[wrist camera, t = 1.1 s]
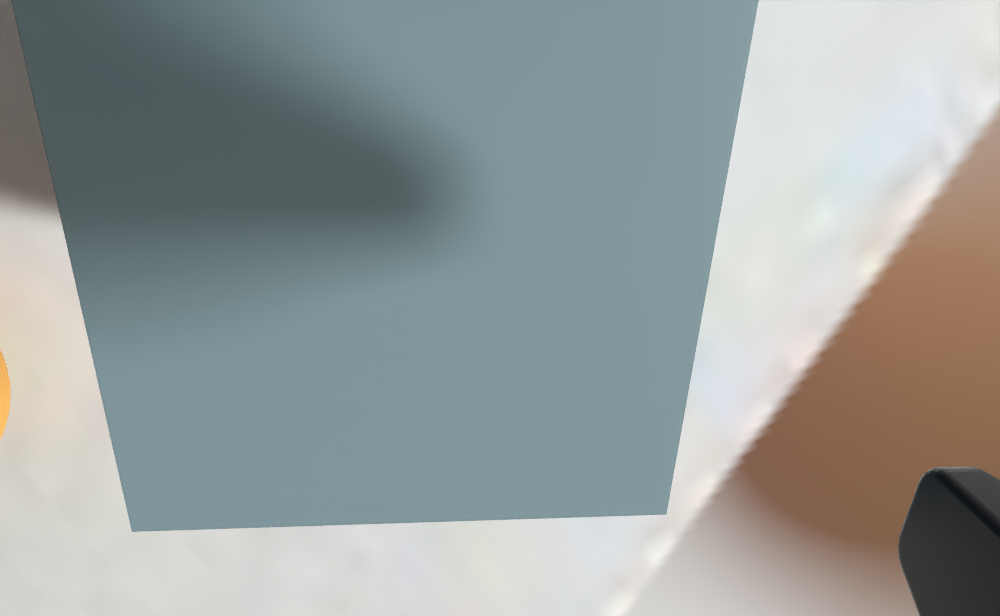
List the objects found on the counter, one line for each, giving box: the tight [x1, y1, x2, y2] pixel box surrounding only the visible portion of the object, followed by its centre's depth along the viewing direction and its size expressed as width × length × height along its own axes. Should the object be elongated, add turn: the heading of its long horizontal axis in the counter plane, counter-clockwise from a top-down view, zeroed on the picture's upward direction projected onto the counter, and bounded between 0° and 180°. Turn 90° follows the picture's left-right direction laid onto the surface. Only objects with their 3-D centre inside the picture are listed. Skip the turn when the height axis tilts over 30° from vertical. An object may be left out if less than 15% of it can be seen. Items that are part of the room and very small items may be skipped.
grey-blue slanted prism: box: [11, 0, 758, 532], centre depth 15 cm, size 8×8×9 cm
